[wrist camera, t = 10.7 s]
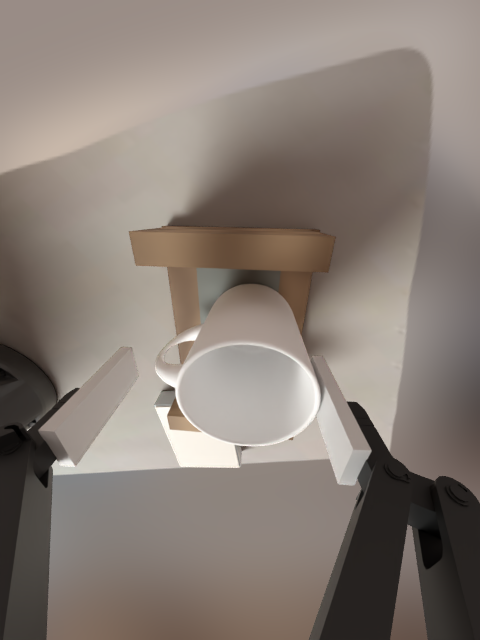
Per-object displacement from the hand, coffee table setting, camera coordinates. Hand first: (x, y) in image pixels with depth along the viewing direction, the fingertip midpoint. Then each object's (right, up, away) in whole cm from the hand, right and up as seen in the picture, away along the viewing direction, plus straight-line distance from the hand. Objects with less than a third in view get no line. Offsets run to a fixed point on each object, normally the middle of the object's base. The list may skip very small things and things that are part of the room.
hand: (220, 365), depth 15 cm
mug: (+1, +3, +7) cm, 8 cm away
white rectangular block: (-4, -13, +17) cm, 21 cm away
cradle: (+1, +4, +8) cm, 9 cm away
